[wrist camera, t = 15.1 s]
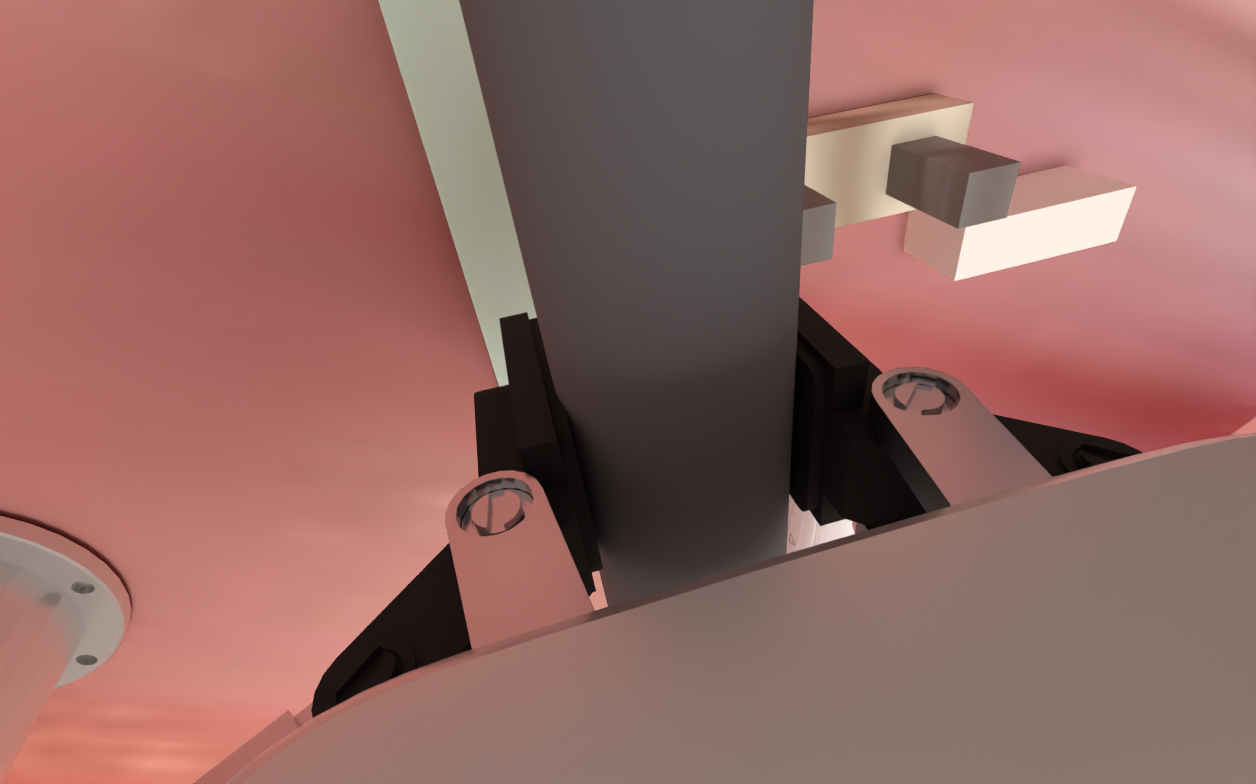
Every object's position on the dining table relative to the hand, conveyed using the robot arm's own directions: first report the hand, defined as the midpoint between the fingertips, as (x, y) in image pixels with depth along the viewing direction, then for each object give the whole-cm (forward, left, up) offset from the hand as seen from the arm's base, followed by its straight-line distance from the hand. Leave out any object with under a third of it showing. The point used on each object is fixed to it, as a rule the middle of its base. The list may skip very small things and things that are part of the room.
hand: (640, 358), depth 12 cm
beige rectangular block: (+21, -6, -15) cm, 27 cm away
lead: (0, 0, +1) cm, 1 cm away
